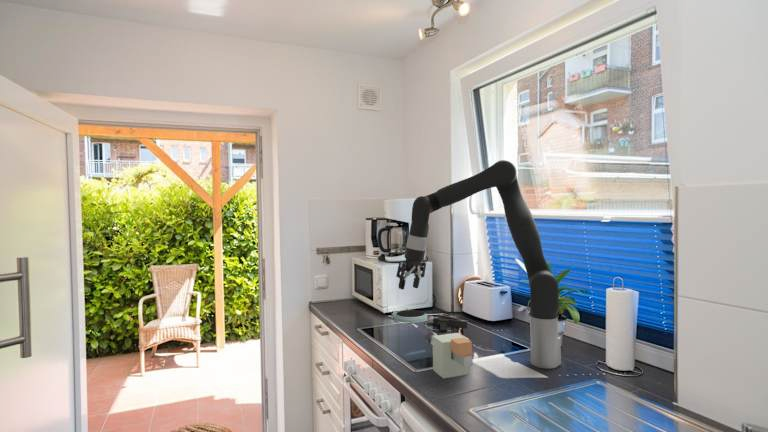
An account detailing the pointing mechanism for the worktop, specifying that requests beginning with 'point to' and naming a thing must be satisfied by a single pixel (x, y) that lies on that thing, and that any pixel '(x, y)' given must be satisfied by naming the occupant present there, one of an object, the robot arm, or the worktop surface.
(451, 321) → the toy gun
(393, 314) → the pale green frying pan
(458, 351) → the block
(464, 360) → the shaft
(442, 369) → the block
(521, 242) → the robot arm
